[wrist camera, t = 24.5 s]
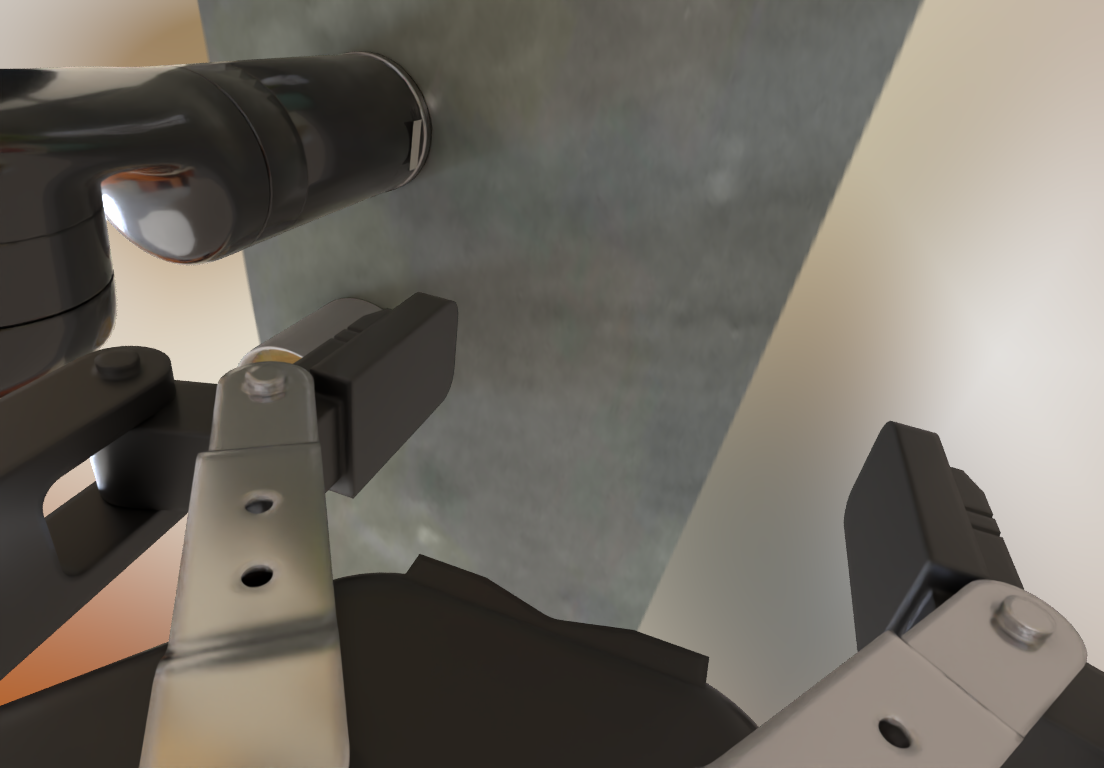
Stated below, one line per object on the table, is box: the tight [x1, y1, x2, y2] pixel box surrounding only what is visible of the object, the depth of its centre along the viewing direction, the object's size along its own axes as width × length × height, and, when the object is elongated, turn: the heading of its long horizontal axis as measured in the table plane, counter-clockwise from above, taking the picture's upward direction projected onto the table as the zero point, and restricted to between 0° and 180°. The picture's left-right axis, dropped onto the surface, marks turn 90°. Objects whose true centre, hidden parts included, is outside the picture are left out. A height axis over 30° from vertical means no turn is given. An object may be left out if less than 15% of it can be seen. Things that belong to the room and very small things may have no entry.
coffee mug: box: [238, 298, 382, 367], centre depth 55 cm, size 13×10×10 cm
